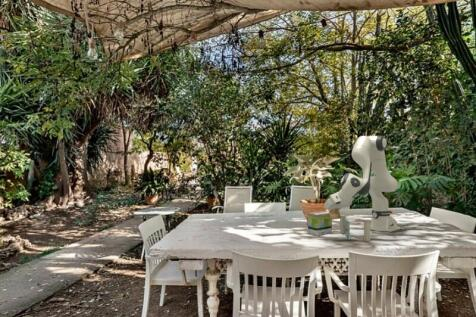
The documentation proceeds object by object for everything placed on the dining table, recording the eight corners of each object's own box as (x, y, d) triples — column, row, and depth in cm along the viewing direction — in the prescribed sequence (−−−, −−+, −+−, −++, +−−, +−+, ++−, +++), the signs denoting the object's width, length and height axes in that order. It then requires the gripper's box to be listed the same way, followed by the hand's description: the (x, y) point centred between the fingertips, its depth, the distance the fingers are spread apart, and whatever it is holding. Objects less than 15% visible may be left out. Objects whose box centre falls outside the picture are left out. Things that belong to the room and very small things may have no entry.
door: (343, 233, 258) (343, 217, 258) (347, 233, 258) (347, 218, 258) (345, 239, 242) (345, 222, 242) (350, 239, 241) (349, 222, 241)
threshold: (349, 234, 256) (349, 234, 256) (364, 238, 244) (364, 238, 244) (346, 235, 255) (346, 234, 255) (361, 239, 243) (361, 238, 243)
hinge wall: (342, 233, 262) (342, 215, 262) (346, 233, 259) (345, 215, 259) (339, 233, 261) (339, 215, 261) (343, 234, 258) (342, 216, 258)
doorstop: (335, 219, 249) (333, 207, 250) (340, 218, 245) (338, 206, 246) (330, 219, 247) (328, 208, 248) (335, 219, 242) (333, 207, 244)
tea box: (318, 236, 255) (318, 214, 254) (307, 233, 263) (307, 212, 262) (332, 232, 263) (332, 212, 263) (321, 230, 271) (321, 210, 271)
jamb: (367, 239, 242) (367, 220, 242) (370, 240, 240) (370, 220, 240) (363, 240, 241) (363, 220, 240) (366, 241, 238) (366, 221, 238)
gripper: (352, 193, 246) (342, 205, 254) (328, 195, 236) (318, 208, 245) (357, 200, 242) (346, 213, 251) (333, 202, 232) (323, 215, 241)
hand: (332, 210), depth 248 cm, fingers closed on doorstop, 5 cm apart
